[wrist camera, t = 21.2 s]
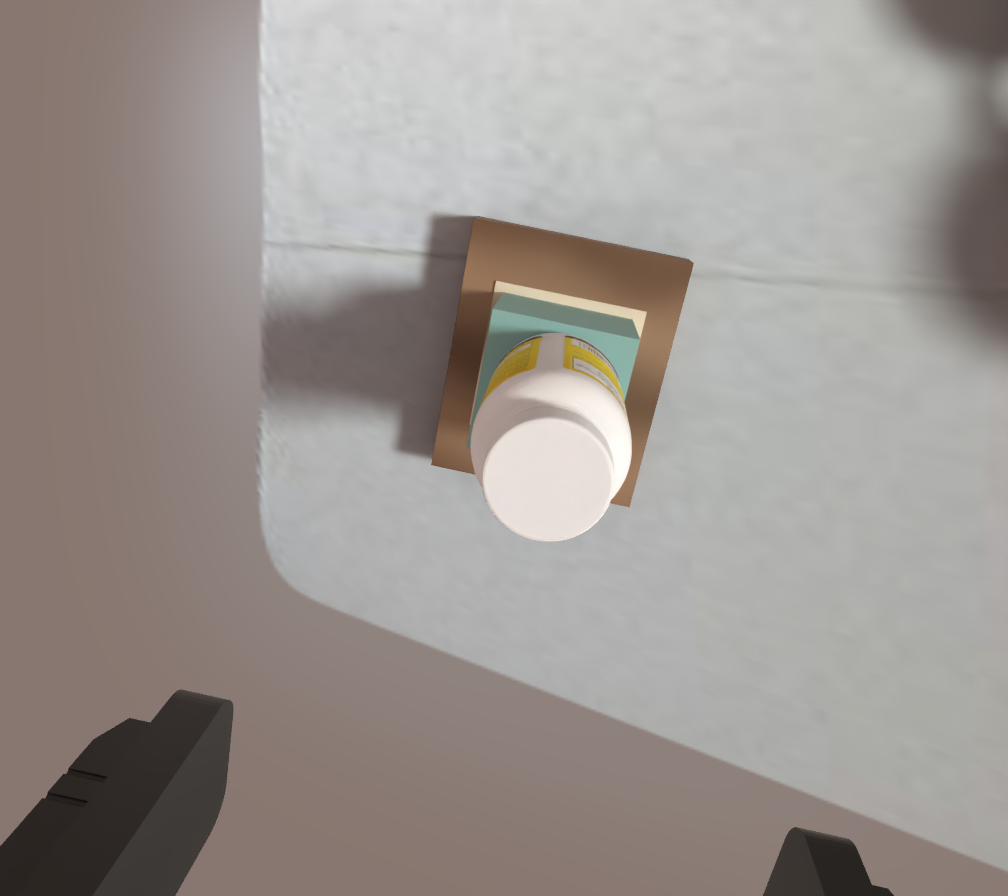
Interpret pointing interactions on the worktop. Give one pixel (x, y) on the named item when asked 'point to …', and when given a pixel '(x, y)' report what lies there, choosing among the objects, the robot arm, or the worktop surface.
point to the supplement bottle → (551, 437)
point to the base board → (568, 281)
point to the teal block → (535, 317)
